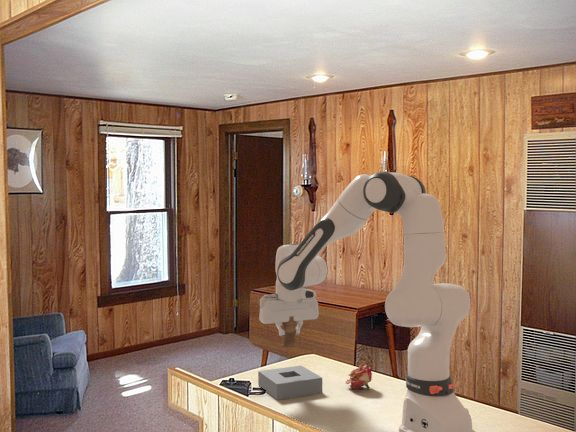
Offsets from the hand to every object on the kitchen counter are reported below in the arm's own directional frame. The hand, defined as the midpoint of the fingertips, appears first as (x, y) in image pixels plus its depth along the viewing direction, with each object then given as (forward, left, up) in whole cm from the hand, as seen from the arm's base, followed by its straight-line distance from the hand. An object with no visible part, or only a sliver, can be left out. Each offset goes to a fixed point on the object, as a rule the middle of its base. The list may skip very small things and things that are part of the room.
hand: (289, 334), depth 195 cm
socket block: (0, 0, -18) cm, 18 cm away
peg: (0, 0, -4) cm, 4 cm away
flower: (-9, -21, -18) cm, 29 cm away
